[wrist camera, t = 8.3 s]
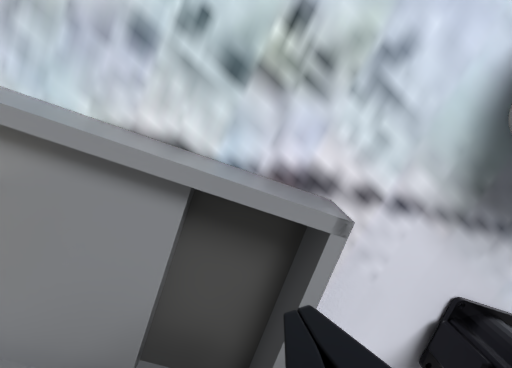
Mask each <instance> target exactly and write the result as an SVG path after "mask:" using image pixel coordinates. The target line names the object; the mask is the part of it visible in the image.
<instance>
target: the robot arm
mask: <svg viewBox="0 0 512 368" xmlns="http://www.w3.org/2000/svg"><path fill="white" fill-rule="evenodd" d="M283 324H284V345H285V367H286V368H391V367H390V366H389V365H388V364H386V363H385V362H384V361H382V360H381V359H380V358H378V357H377V356H376V355H375V354H373V353H372V352H371V351H369V350H368V349H367V348H366V347H364V346H363V345H362V344H360V343H359V342H358V341H356V340H355V339H354V338H353V337H351V336H350V335H349V334H347V333H346V332H345V331H344V330H342V329H341V328H340V327H338V326H337V325H336V324H334V323H333V322H332V321H331V320H329V319H328V318H327V317H325V316H324V315H323V314H322V313H320V312H319V311H318V310H316V309H315V308H314V307H312V306H311V305H306V306H303V307H300V308H298V309H297V310H292V311H289V312H286V313H284V314H283ZM419 363H420V365H421V367H422V368H512V314H511V313H508V312H505V311H502V310H499V309H496V308H493V307H490V306H487V305H484V304H480V303H477V302H474V301H471V300H468V299H465V298H462V297H457V298H455V299H454V300H453V301H452V303H451V304H450V306H449V308H448V310H447V312H446V314H445V315H444V317H443V319H442V321H441V323H440V324H439V326H438V328H437V330H436V332H435V334H434V335H433V337H432V339H431V341H430V343H429V344H428V346H427V348H426V350H425V352H424V354H423V355H422V357H421V359H420V362H419Z"/></svg>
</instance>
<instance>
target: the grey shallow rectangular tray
mask: <svg viewBox="0 0 512 368" xmlns="http://www.w3.org/2000/svg"><path fill="white" fill-rule="evenodd" d="M354 223H355V222H353V221H352V220H351V219H350V218H349V217H348V216H347V215H346V214H345V213H344V212H343V211H342V210H341V209H340V208H339V207H338V206H337V205H336V204H335V203H334V202H333V201H331V200H329V199H326V198H324V197H321V196H318V195H315V194H312V193H309V192H306V191H303V190H300V189H297V188H295V187H292V186H289V185H286V184H283V183H280V182H277V181H274V180H271V179H268V178H265V177H263V176H260V175H257V174H254V173H251V172H248V171H245V170H242V169H239V168H236V167H233V166H231V165H228V164H225V163H222V162H219V161H216V160H213V159H210V158H207V157H204V156H202V155H199V154H196V153H193V152H190V151H187V150H184V149H181V148H178V147H175V146H172V145H170V144H167V143H164V142H161V141H158V140H155V139H152V138H149V137H146V136H143V135H140V134H138V133H135V132H132V131H129V130H126V129H123V128H120V127H117V126H114V125H111V124H109V123H106V122H103V121H100V120H97V119H94V118H91V117H88V116H85V115H82V114H79V113H77V112H74V111H71V110H68V109H65V108H62V107H59V106H56V105H53V104H50V103H47V102H45V101H42V100H39V99H36V98H33V97H30V96H27V95H24V94H21V93H18V92H16V91H13V90H10V89H7V88H4V87H1V86H0V368H286V367H285V345H284V324H283V314H284V313H286V312H289V311H292V310H297V309H298V308H300V307H303V306H306V305H311V306H312V307H314V308H315V309H316V308H317V306H318V304H319V301H320V299H321V297H322V295H323V293H324V290H325V288H326V286H327V284H328V281H329V279H330V277H331V275H332V272H333V270H334V268H335V266H336V263H337V261H338V259H339V257H340V255H341V252H342V250H343V248H344V246H345V243H346V241H347V239H348V237H349V234H350V232H351V230H352V228H353V225H354Z"/></svg>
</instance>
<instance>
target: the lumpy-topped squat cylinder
mask: <svg viewBox="0 0 512 368" xmlns="http://www.w3.org/2000/svg"><path fill="white" fill-rule="evenodd" d="M508 122H509V128H510V131H511V134H512V105H511V107H510V111H509V117H508Z"/></svg>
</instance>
